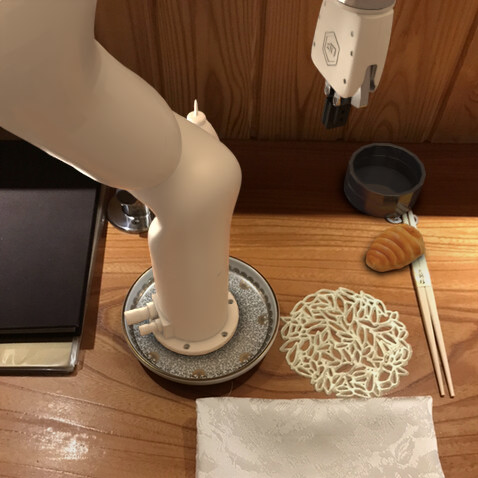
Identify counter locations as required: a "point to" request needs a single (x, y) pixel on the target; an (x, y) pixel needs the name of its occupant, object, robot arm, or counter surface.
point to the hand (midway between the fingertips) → (333, 123)
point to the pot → (383, 180)
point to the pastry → (395, 248)
